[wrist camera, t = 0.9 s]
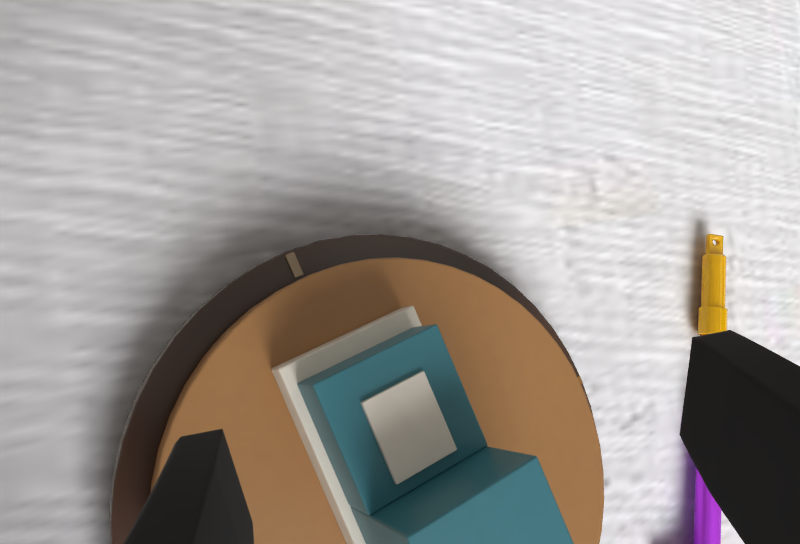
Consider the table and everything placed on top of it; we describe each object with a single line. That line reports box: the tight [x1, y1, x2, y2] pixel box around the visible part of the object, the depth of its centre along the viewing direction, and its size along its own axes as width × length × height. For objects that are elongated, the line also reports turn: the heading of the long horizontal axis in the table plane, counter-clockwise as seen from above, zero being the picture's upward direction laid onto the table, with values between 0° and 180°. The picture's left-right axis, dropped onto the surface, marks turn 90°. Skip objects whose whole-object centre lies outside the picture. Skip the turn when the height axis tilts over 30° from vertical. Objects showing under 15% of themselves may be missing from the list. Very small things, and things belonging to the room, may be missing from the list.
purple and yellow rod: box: [694, 234, 727, 544], centre depth 30 cm, size 3×1×16 cm
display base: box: [110, 234, 593, 544], centre depth 24 cm, size 17×17×2 cm
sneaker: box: [150, 257, 604, 544], centre depth 20 cm, size 15×15×6 cm
